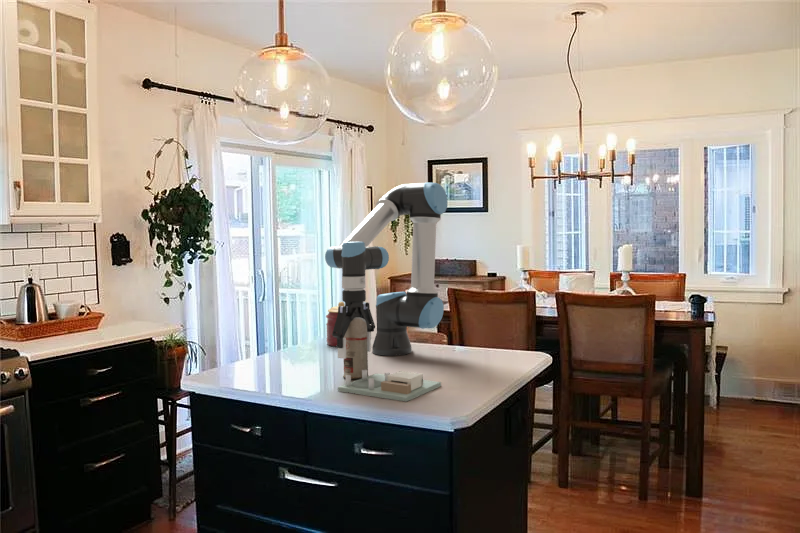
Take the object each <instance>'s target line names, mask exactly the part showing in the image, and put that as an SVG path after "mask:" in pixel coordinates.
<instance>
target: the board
mask: <svg viewBox="0 0 800 533" xmlns="http://www.w3.org/2000/svg"><path fill="white" fill-rule="evenodd" d="M388 375H391V373H390V372H384V374H382V373H374V374H371V375H369V376H368V377H367V370H362V378H358V379H355V380H354V381H352V379H351V375H346V376H345V377H346V378H345V383H344V384H343V385H339V386H337V391H338V392H343V393H348V392H349V393H350V394H354V393H355V394H356V395H362V396H367V397H368V396H369V397H375V398H381V399H387V400H393V401H399V402H405V403H406V402H409V401H411V400H414V399H415V398H417V397H420V396H422V395H425V394H427V393H428V392H431V391H433V390H435V389H437V388H440V387H442V382H441V381H435V380H434V381H433V380H427V379H423V386H421V387H419V388H416V389H414V390H412V391H411V384H404V383H403V382H400V381H398V383H397V382H390V381H388ZM355 394H354V395H355Z"/></svg>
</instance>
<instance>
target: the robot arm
mask: <svg viewBox="0 0 800 533" xmlns="http://www.w3.org/2000/svg"><path fill="white" fill-rule="evenodd" d="M447 209H448V196H447V193H446V191H445V188H444V187H443V186H442V185H441V184H439V183H437V182H417V183H414V182H413V183H403V184H400V185H398V186H396V187H393V188H392V189H390V190H389V191H387V192H386V193H385V194H384V195H382V196H381V197H380V198H379V199H378V201H377V202H376V204H375V207H374V208H373V209H372V210H371V212H370V213H369V214H368V215H366V217H365V218H364V219H363V220H362V221H361V222H359V224H358V225H357V226H356V227H355V228H354V229H353V230H352V232H351V233H350V234H349V235H347V237H346V238H345V239H344V240H342V242H341V243H340V244H339V245H338V246H337V245H333V246H329V247H328V248H327V249H326V252H325V254H324V259H325V262H326V264H327V266H328V267H329V268H333V269H341V271H342V274H341V288H342V289H343V290H342V291H341V293H342V294H341V295H342V296H341V297H342V298H341V299H342V302H344V304H345V306H339V307H338V315H337V318H336V322H335V326H334V329H333V333H332V336H334V337H336V338H337V346H336V348H337V358H338V359H343V360H344V359H346V338H344V336H345V334H346V331H347V329H348V327H349V325H350V322H351V321H352V320H353V319H354V318H355V317H361V318H363V319H365V321H366V324H367V351H368V352H369V353H370V352H371V351H372V353H373V355H378V356H387V357H389V356H392V357H393V356H394V357H395V356H403V355H404V356H405V355H409V354H411V353H412V351H413V350H412V349H413V348H412V344H411V341H410V338H409V334H408V330H407V329H408V328H407V327H409V328H419V329H423V330H424V329H433V328H436V327H437V326H438V325H439V324H440V322H441V320H442V318H443V315H444V312H445V311H444V310H445V309H444V303H443V300H442V298H440V297H439V292H438V290H436V289H435V272H436V271H435V270H436V245H437V244H436V242H437V240H436V239H437V238H436V237H437V224H438V223H439V222H440V221H441V215H443V214H444V213H446V211H447ZM404 215H409V220H410V221H411V222H412V223H413V225H412V251H411V278H410V279H411V280H410V282H411V283H410V288H409V289H408V290H407V291H396V292H388V293H387V292H386V293H382V294H381V293H380V294H378V295H377V296H376V301H375V313H376V324H375V322H374V318H373V315H372V311H371V309H370V302H365V301H366V299H367V297H366V294H367V293H366V290H365V288H366V271H368V270H379V269H383V268H385V267H387V265H388V263H389V260H390V257H389V253H388V250H387V249H386V248H384V247H383V246H379V245H377V246H375V245H374V246H369V245H370V244H371V243H372V242H373V241H374V240H375V238H376V237H378V236H379V234H380V233H381V232H382V231H383V230H384V229H385V228H386V227H387V226H388V224H389V223H390V222H393V221H395V220H397V219H398V218H399V217H401V216H404ZM375 328H376V333H375V337H374V340H373V344H372V332H375ZM336 332H337V333H336ZM341 333H342V334H341Z"/></svg>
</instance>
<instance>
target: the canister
mask: <svg viewBox="0 0 800 533" xmlns="http://www.w3.org/2000/svg"><path fill="white" fill-rule="evenodd" d="M339 306H345V302H343V301H340V302H338V304H337V306H336V305H335V306H332V307H331V308H329V309H328V310H327V312H328V313H327V315H326V316H325V318H326V320H327V322H326V324H325V325H326V339H325V340H326V343H327V344H326V345H328V346H330V347H331V346H332V347H337V338H336V337H334V336H332V333H333V329H334V326H335V322H336V318H337V315H338V307H339ZM336 333H337V332H336ZM341 334H342V333H341Z"/></svg>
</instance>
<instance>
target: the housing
mask: <svg viewBox="0 0 800 533" xmlns="http://www.w3.org/2000/svg"><path fill="white" fill-rule="evenodd" d="M423 380H424V374H423V373H419V372H411V371H403V370H400V371H397V372H394V373H390V375H388V381H390V382H397V383H398V381H400V382H403V383H404V384H411V391H412V390H414V389H416V388H419V387H421V386H423Z"/></svg>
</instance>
